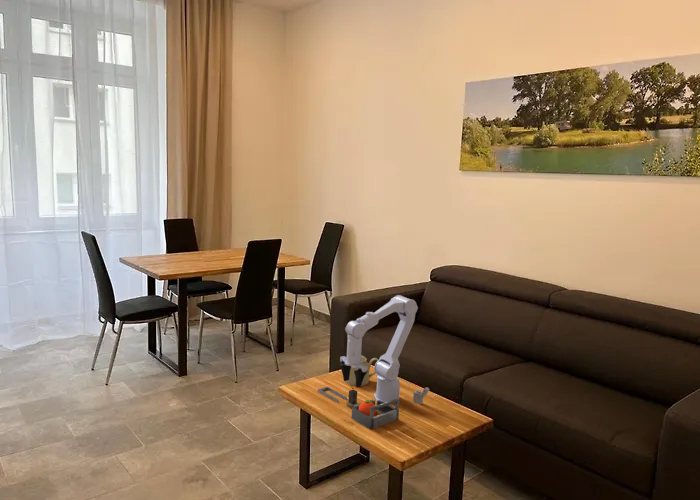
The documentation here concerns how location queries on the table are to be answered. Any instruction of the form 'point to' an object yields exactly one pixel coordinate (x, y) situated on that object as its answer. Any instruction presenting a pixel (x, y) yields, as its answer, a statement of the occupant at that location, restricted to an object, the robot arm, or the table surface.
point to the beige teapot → (366, 379)
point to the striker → (354, 399)
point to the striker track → (332, 392)
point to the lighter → (420, 395)
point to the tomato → (366, 407)
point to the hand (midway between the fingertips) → (352, 383)
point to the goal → (379, 420)
